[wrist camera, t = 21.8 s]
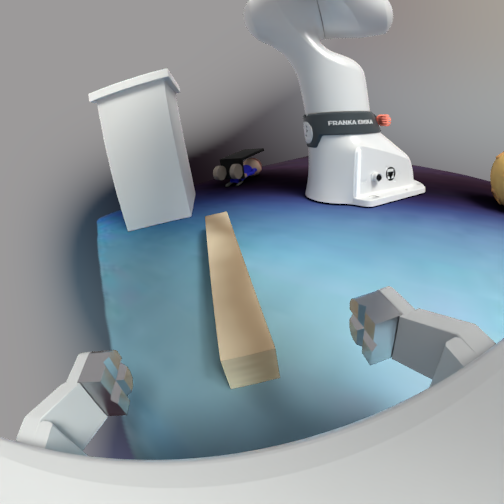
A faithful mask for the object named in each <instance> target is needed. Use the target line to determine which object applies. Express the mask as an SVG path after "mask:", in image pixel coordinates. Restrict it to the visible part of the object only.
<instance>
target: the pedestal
mask: <svg viewBox="0 0 504 504" xmlns="http://www.w3.org/2000/svg"><path fill="white" fill-rule="evenodd" d="M176 93H180V88H179V85H178V84H177V83H176V81H175V79H174V78H173V76H172V75H171V73H170V72H169V70H168V69H167V68H166V69H162V70H158V71H154V72H151V73H147V74H144V75H140V76H137V77H134V78H131V79H127V80H125V81H122V82H119V83H116V84H113V85H110V86H107V87H105V88H102V89H100V90H97V91H94V92H92V93H90V94H89V102H93V103H97V104H98V111H99V117H100V122H101V127H102V133H103V137H104V143H105V147H106V152H107V156H108V160H109V165H110V169H111V173H112V177H113V181H114V185H115V188H116V192H117V196H118V199H119V203H120V206H121V210H122V213H123V217H124V220H125V223H126V227H127V230H128V231H132V230H136V229H140V228H144V227H148V226H153V225H157V224H161V223H165V222H169V221H174V220H178V219H182V218H187V217H191V216H192V210H193V205H194V199H195V189H194V185H193V181H192V175H191V171H190V166H189V161H188V156H187V151H186V146H185V141H184V136H183V131H182V126H181V120H180V115H179V110H178V104H177V98H176Z"/></svg>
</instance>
